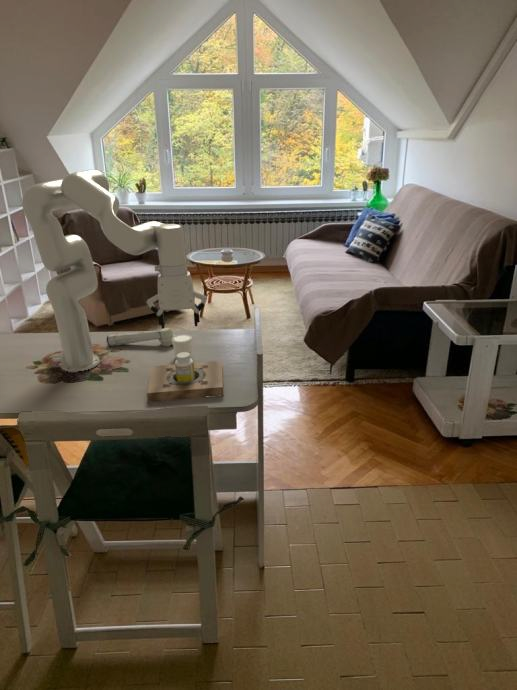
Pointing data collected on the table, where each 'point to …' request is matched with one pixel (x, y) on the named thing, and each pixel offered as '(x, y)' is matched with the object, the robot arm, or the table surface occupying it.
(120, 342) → the grey elongated piece
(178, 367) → the supplement bottle
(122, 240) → the robot arm
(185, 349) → the beige cylinder
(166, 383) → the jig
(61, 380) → the table surface
